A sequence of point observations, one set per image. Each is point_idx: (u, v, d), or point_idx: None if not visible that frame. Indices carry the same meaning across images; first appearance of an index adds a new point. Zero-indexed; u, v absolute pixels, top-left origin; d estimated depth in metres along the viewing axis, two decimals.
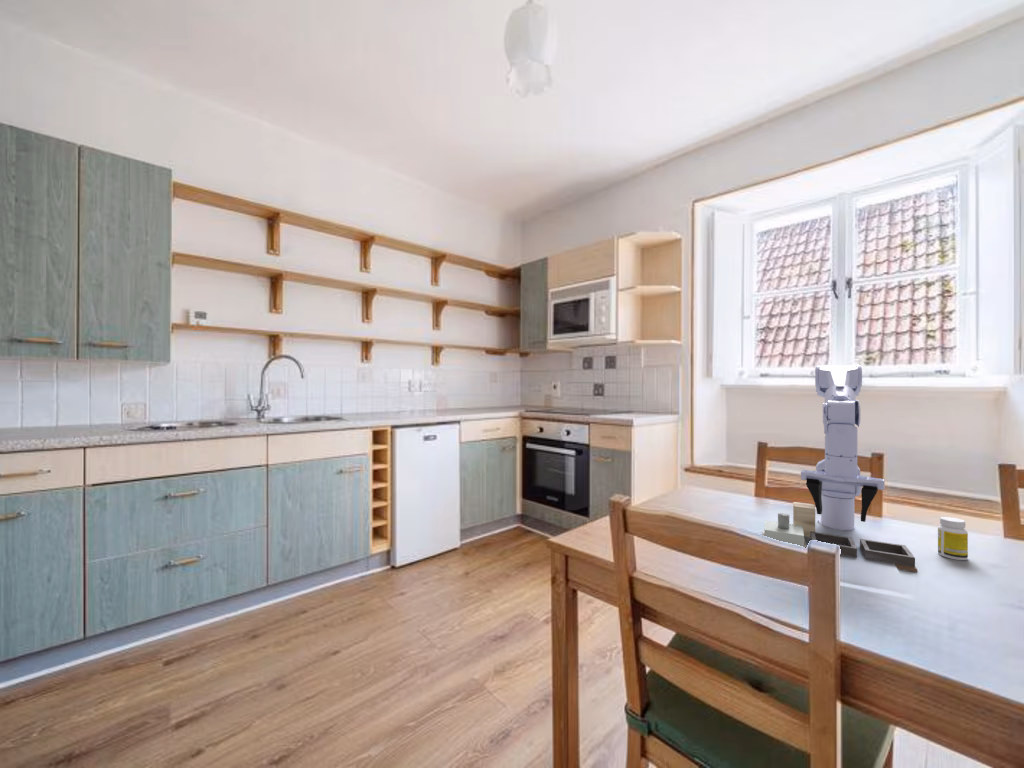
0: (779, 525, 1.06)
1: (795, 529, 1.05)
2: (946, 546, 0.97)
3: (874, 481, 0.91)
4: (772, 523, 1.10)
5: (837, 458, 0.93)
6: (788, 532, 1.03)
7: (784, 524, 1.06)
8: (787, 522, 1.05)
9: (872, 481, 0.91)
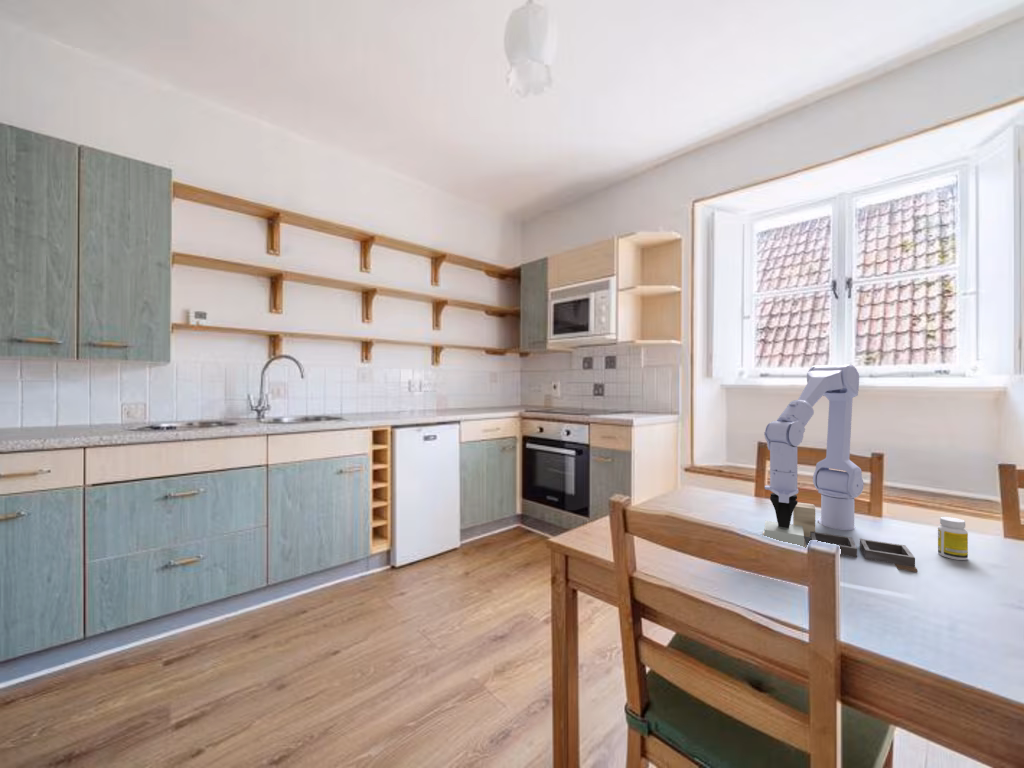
0: None
1: (795, 529, 1.05)
2: (946, 546, 0.97)
3: (777, 493, 1.02)
4: (772, 523, 1.10)
5: None
6: (788, 532, 1.03)
7: None
8: None
9: (777, 493, 1.03)
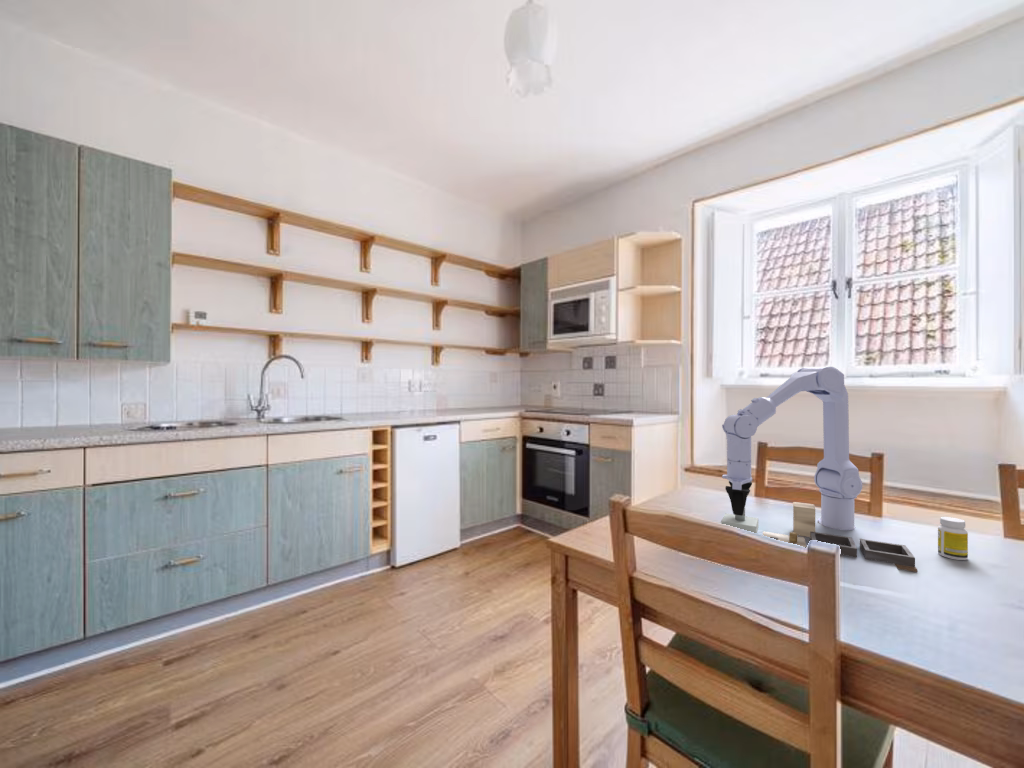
0: (736, 517, 1.15)
1: (750, 521, 1.14)
2: (946, 546, 0.97)
3: (732, 481, 1.11)
4: (731, 515, 1.18)
5: None
6: (742, 523, 1.12)
7: (740, 516, 1.14)
8: (743, 514, 1.14)
9: (731, 481, 1.11)
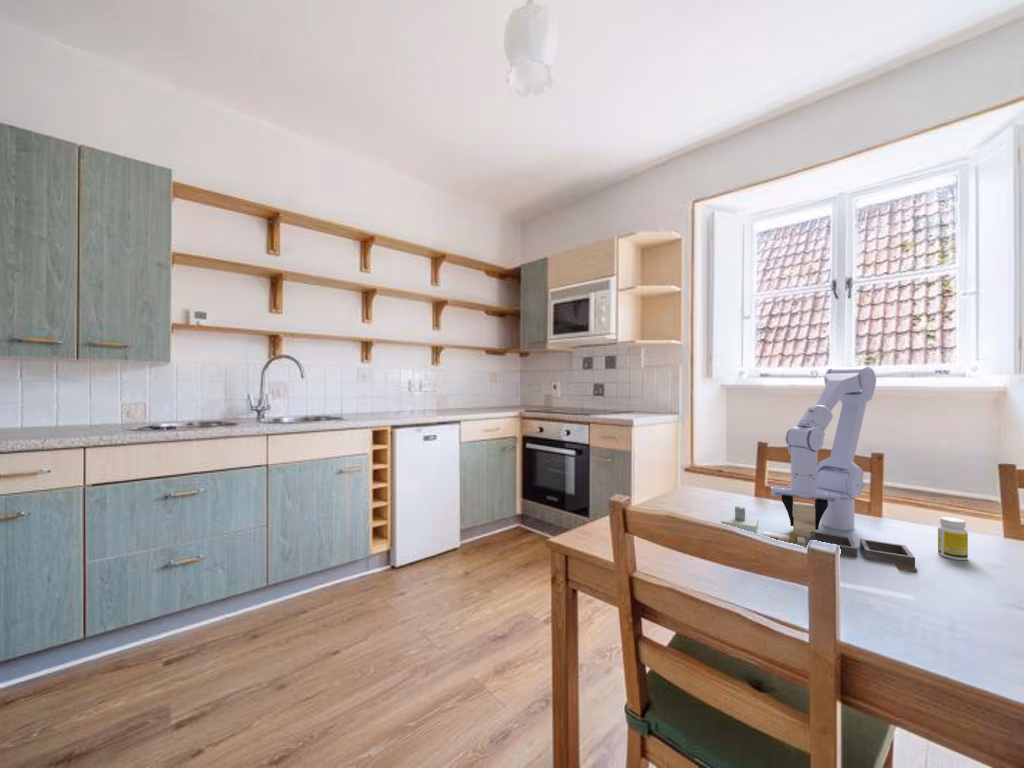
0: (736, 517, 1.15)
1: (750, 521, 1.14)
2: (946, 546, 0.97)
3: (832, 496, 1.07)
4: (731, 515, 1.18)
5: (803, 477, 1.09)
6: (742, 523, 1.12)
7: (740, 516, 1.14)
8: (743, 514, 1.14)
9: (830, 496, 1.07)
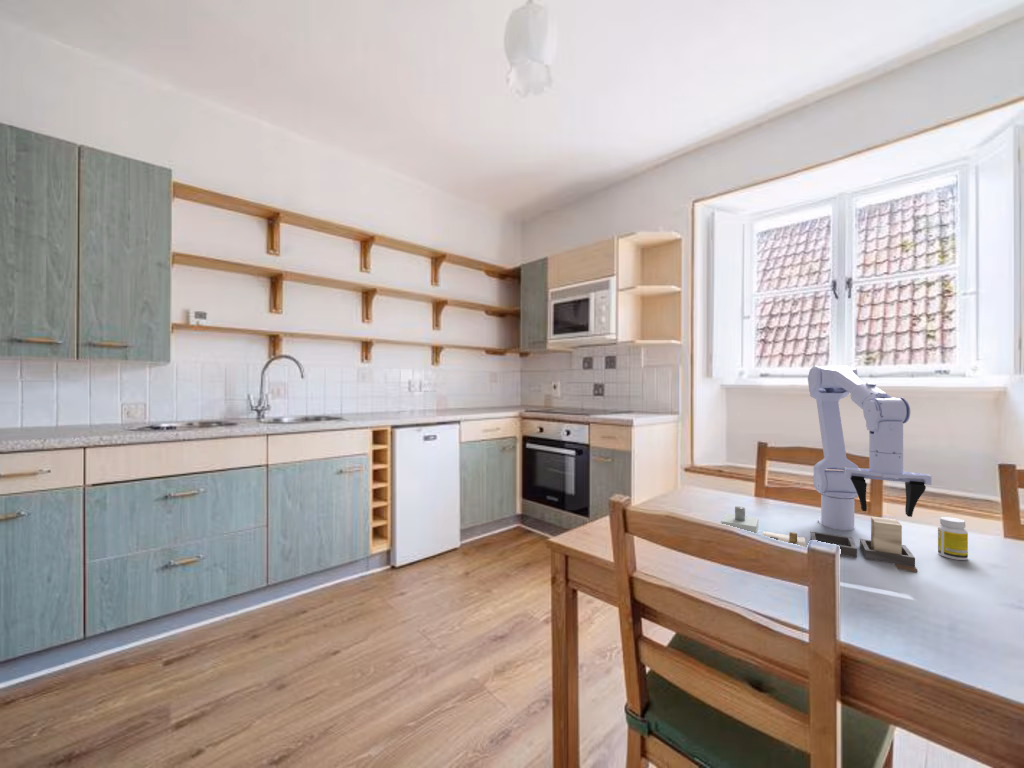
0: (736, 517, 1.15)
1: (750, 521, 1.14)
2: (946, 546, 0.97)
3: (922, 476, 0.92)
4: (731, 515, 1.18)
5: (886, 455, 0.94)
6: (742, 523, 1.12)
7: (740, 516, 1.14)
8: (743, 514, 1.14)
9: (920, 476, 0.93)
